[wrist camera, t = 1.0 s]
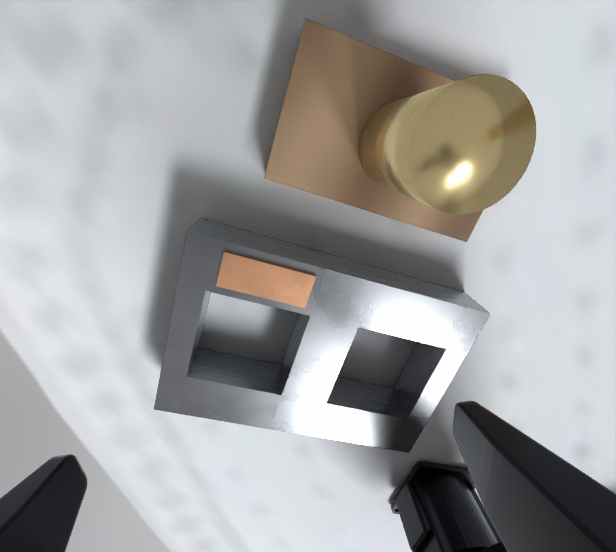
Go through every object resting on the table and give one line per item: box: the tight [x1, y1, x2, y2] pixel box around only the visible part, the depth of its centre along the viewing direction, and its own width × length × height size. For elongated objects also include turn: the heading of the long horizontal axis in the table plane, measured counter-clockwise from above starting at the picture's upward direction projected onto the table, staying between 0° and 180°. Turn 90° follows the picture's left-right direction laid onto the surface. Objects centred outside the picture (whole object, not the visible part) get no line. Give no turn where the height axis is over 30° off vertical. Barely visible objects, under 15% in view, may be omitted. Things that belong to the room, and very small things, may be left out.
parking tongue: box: [264, 18, 483, 242], centre depth 17 cm, size 12×7×2 cm, turn 72°
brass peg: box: [358, 74, 536, 214], centre depth 13 cm, size 4×4×7 cm
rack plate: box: [154, 218, 490, 453], centre depth 21 cm, size 18×12×3 cm, turn 72°
